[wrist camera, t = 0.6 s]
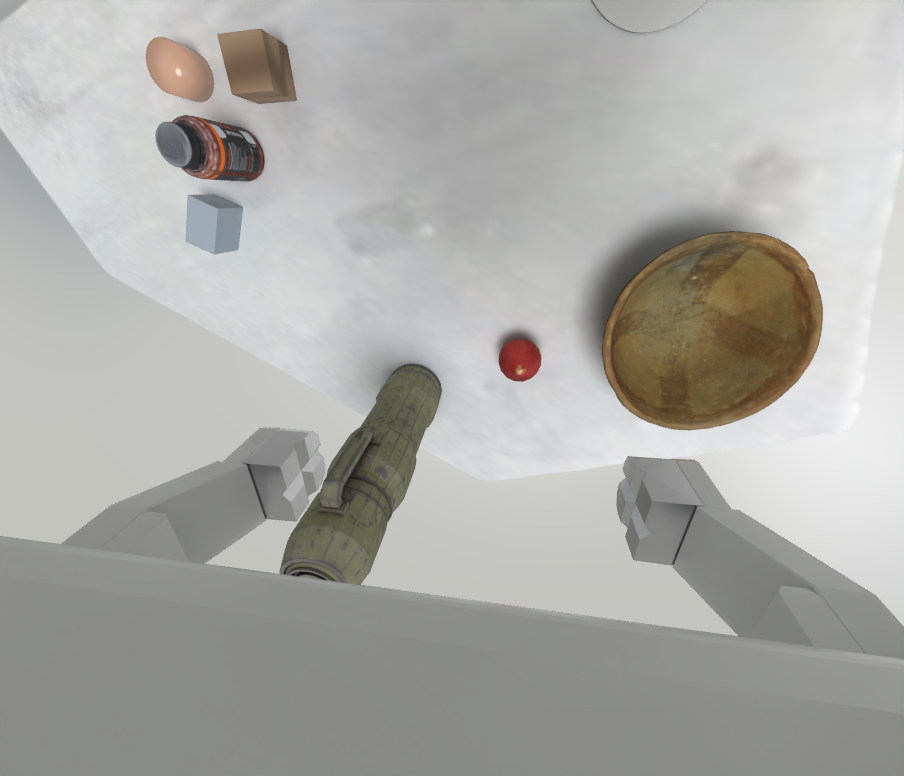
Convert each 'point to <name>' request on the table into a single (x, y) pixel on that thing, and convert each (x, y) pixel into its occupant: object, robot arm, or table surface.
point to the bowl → (713, 330)
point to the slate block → (213, 223)
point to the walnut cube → (257, 66)
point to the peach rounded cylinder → (179, 70)
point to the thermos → (365, 483)
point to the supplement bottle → (210, 149)
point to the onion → (520, 360)
